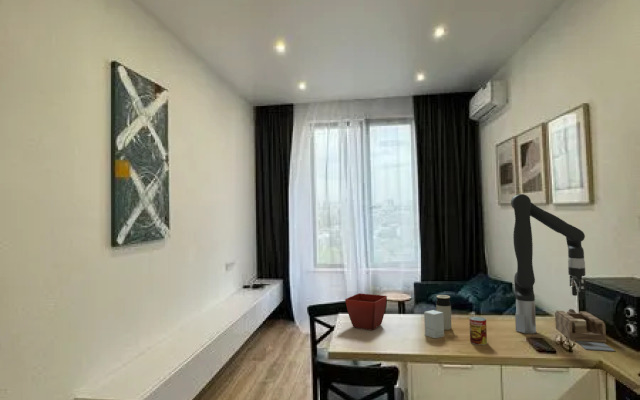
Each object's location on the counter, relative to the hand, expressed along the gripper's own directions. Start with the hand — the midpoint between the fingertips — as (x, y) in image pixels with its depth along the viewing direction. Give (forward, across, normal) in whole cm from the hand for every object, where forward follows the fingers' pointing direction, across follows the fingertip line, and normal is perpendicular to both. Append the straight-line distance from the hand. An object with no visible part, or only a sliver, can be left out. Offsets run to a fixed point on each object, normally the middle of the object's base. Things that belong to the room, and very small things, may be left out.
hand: (577, 297), depth 204 cm
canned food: (+20, +22, -53) cm, 61 cm away
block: (+17, 0, 0) cm, 17 cm away
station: (+20, +7, 0) cm, 21 cm away
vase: (+20, -20, +4) cm, 29 cm away
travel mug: (+20, 0, -68) cm, 71 cm away
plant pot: (+20, +4, -112) cm, 114 cm away
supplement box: (+20, +15, -74) cm, 79 cm away
